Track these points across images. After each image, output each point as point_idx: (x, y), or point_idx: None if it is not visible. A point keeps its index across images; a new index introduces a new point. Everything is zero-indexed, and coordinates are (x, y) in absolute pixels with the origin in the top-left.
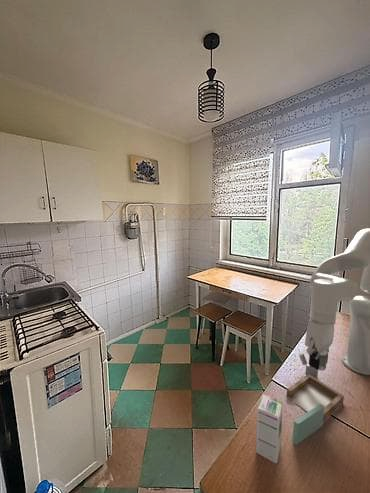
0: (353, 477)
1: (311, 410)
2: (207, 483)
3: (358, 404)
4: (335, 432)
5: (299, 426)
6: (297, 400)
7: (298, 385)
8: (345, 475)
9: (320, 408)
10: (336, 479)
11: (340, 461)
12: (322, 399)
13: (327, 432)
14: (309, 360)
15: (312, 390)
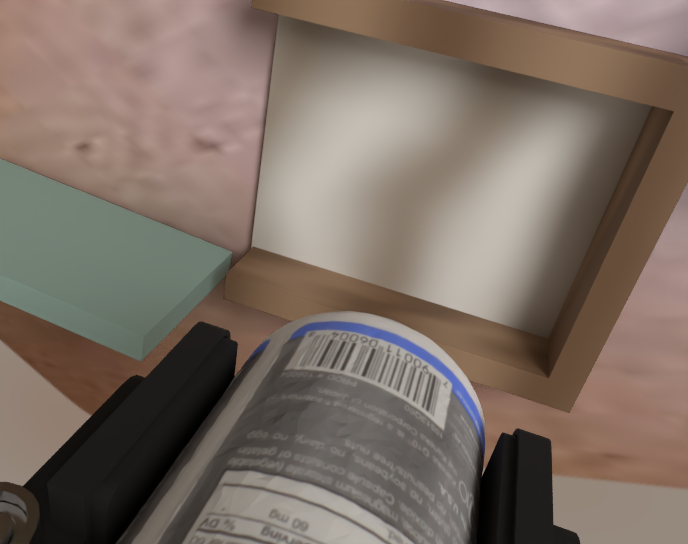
0: (101, 396)
1: (24, 290)
2: None
3: (635, 450)
4: (257, 333)
5: None
6: (310, 73)
7: (411, 46)
8: (82, 373)
9: (102, 340)
10: (36, 345)
11: (120, 357)
12: (485, 242)
13: (220, 298)
14: (145, 383)
15: (550, 148)
